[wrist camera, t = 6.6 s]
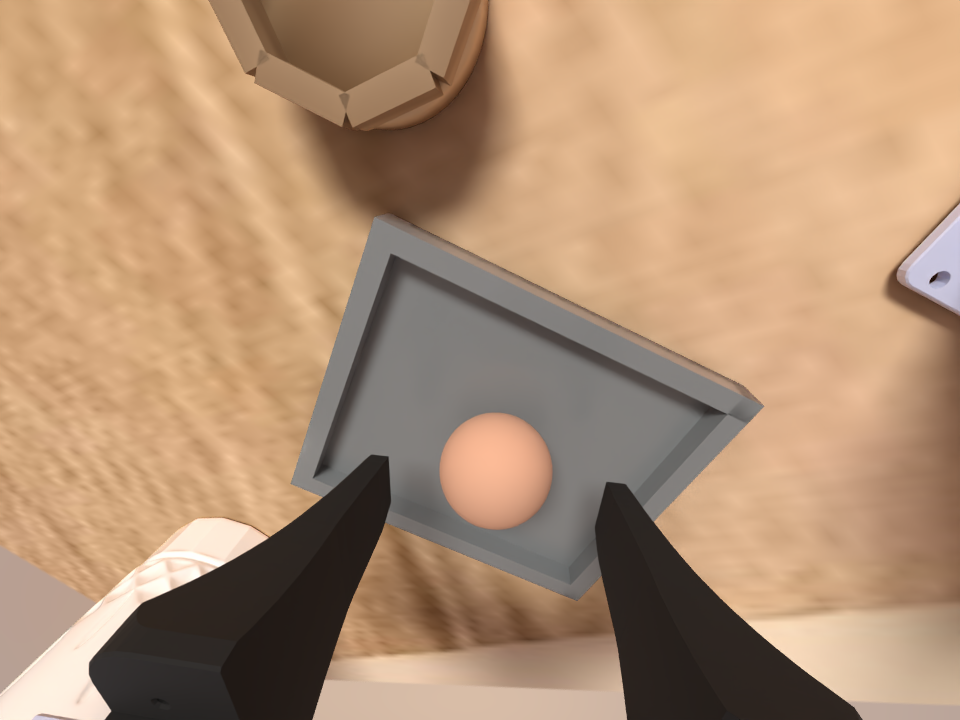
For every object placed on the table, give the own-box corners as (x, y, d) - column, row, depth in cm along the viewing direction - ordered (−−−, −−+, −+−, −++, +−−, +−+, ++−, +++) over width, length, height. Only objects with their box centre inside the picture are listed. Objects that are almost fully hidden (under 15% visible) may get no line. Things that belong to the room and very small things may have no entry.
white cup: (330, 595, 22) (201, 877, 14) (223, 613, 24) (47, 870, 15) (251, 493, 20) (20, 764, 11) (137, 522, 22) (-141, 773, 13)
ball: (553, 395, 15) (563, 466, 11) (544, 477, 17) (551, 562, 13) (448, 389, 15) (426, 456, 12) (450, 470, 17) (431, 551, 13)
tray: (743, 385, 14) (764, 406, 13) (574, 573, 20) (577, 601, 18) (389, 212, 13) (374, 216, 12) (306, 462, 18) (290, 483, 17)
